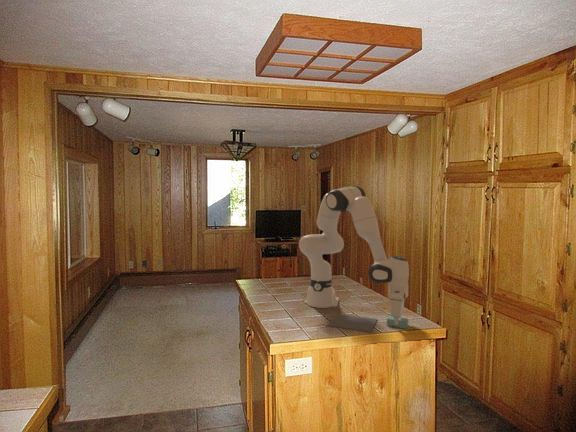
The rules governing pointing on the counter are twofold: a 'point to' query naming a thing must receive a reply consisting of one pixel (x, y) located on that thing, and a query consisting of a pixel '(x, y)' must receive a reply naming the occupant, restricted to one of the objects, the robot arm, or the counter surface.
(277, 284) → the counter surface
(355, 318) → the mat
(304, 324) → the counter surface
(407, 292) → the robot arm
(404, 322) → the teal rectangular block
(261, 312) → the counter surface
